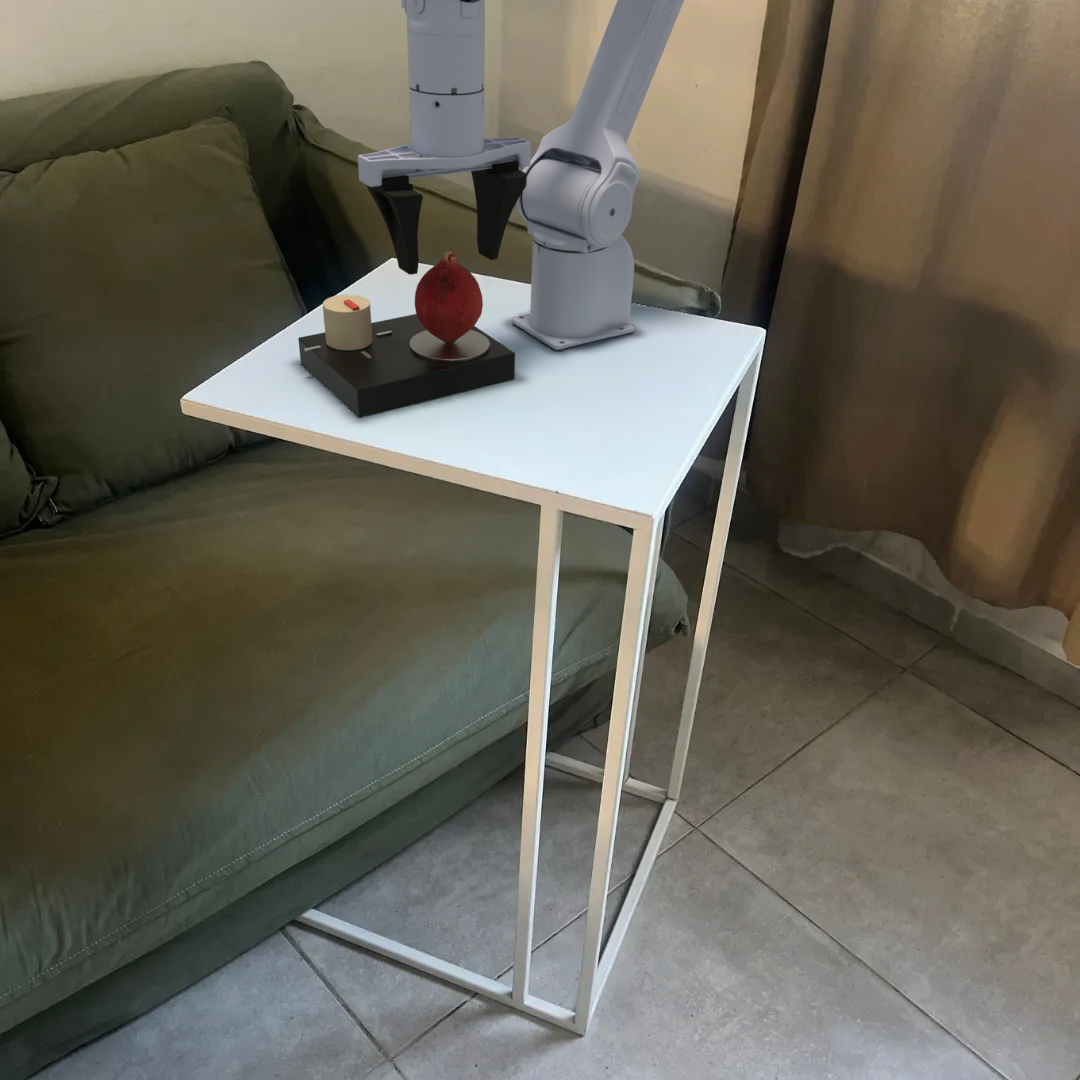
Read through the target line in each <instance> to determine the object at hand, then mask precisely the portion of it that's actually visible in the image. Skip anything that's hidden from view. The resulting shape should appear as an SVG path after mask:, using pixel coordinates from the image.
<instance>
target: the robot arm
mask: <svg viewBox="0 0 1080 1080" xmlns="http://www.w3.org/2000/svg"><path fill="white" fill-rule="evenodd" d="M684 1H685V0H617V1H616V3H615V5H614V8H613V10H612V12H611V16H610V18H609V21H608V23H607V26H606V29H605V31H604V33H603V36H602V38H601V41H600V44H599V45H598V49H597V52H596V54H595V56H594V59H593V62H592V64H591V67H590V69H589V71H588V74H587V77H586V79H585V82H584V85H583V88H582V89H581V92H580V95H579V97H578V100H577V102H576V104H575V108H574V110H573V113H572V115H571V117H570V119H569V120H568V121H567V122H565V123H563V124H562V125H560V126H559V127H556V128H555V129H553V130H551V131H550V132H547V134H545V135H543V137H542V138H541V140H540V143H539V146H538V148H537V150H536V152H535V154H534V155H533V157H532V155H531V154H532V142H531V141H529V140H527V139H526V138H525V139H524V138H522V137H520V136H514V137H495V138H494V137H493V138H491V137H490V138H489V137H487V138H486V137H485V50H486V49H485V47H486V46H485V42H486V41H485V40H486V39H485V35H486V34H485V32H486V0H401V8H402V9H404V14H405V15H406V37H407V39H406V43H407V68H408V69H407V70H408V95H409V96H408V97H409V101H408V102H409V130H410V131H409V132H410V143H408V144H403V145H400V146H396V147H391V148H388V149H384V150H380V151H376V152H371V153H365V154H358V155H357V169H358V180H359V182H361V183H362V184H364V185H366V188H367V191H368V193H369V194H370V195H371V197H372V199H373V201H374V203H375V205H376V206H377V208H378V210H379V213H380V214H381V217H382V219H383V221H384V223H385V226H386V228H387V231H388V234H389V236H390V239H391V243H392V245H393V249H394V253H395V258H396V261H397V265H398V268H399V269H400V270H401V271H403V272H405V274H408V275H417V274H418V273H419V272H418V271H419V223H420V215H421V208H422V204H423V199H424V195H423V194H421V193H420V192H418V191H416V190H415V189H414V186H413V183H410V180H415V179H421V178H423V179H424V178H429V177H438V176H445V175H446V176H447V175H455V174H461V173H468V172H470V173H471V177H472V182H473V189H474V195H475V204H476V243H477V251H478V255H481V256H483V257H485V258H486V259H488V260H489V261H493V260H498V257H499V254H500V249H501V245H502V241H503V238H504V234H505V232H506V228H507V225H508V222H509V219H510V217H511V215H512V212H513V211H514V208H515V206H516V208H517V211H518V214H519V215H520V217H521V218H522V220H524V221H525V222H526V223H527V234H528V235H530V236H532V252H531V279H530V280H531V281H530V305H529V306H530V307H529V313H526V314H521V315H516V316H513V317H512V318H511V322H512V324H514V325H516V326H517V327H519V328H521V330H524V331H525V332H527V333H528V334H530V335H531V336H533V337H535V338H536V339H538V340H539V341H541V342H543V343H544V344H546V345H547V346H549V347H550V348H552V349H553V350H562V349H567V348H572V347H576V346H580V345H584V344H587V343H592V342H597V341H600V340H605V339H609V338H613V337H617V336H622V335H627V334H631V333H633V332H634V331H635V326H634V325H632V324H630V320H631V309H632V300H633V299H632V298H633V289H634V277H635V260H634V259H635V258H634V254H633V250H632V248H631V245H630V243H629V242H628V240H627V239H626V238H625V237H624V236H623V233H624V232H625V231H626V229H627V227H628V225H629V223H630V220H631V217H632V213H633V202H634V196H635V192H636V188H637V185H638V183H639V181H640V178H641V172H640V169H639V167H638V164H637V163H636V161H635V158H634V157H633V154H631V153H632V152H631V151H630V149H629V148H628V146H627V142H628V140H629V137H630V135H631V133H632V130H633V128H634V125H635V124H636V121H637V117H638V115H639V113H640V110H641V108H642V105H643V103H644V101H645V98H646V95H647V93H648V92H649V91H648V90H649V88H650V86H651V83H652V80H653V78H654V76H655V73H656V71H657V68H658V66H659V64H660V61H661V59H662V56H663V53H664V51H665V48H666V46H667V43H668V41H669V38H670V36H671V34H672V31H673V29H674V26H675V24H676V22H677V19H678V17H679V14H680V12H681V9H682V7H683V5H684ZM520 168H523V169H522V170H520Z"/></svg>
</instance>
